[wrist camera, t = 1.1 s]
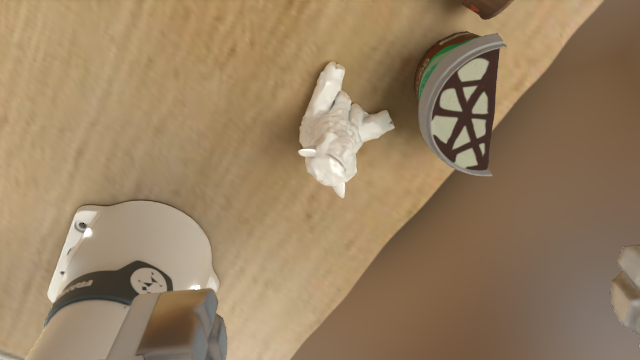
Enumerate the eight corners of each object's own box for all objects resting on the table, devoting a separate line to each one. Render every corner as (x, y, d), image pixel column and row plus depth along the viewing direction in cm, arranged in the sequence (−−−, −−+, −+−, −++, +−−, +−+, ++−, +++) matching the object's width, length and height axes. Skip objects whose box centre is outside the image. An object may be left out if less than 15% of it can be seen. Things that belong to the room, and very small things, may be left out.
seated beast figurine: (397, 118, 49) (421, 172, 39) (339, 171, 52) (346, 235, 42) (333, 55, 46) (340, 96, 35) (274, 115, 49) (265, 170, 38)
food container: (402, 21, 44) (425, 46, 36) (468, 15, 44) (507, 39, 36) (402, 140, 50) (421, 186, 42) (459, 135, 50) (491, 181, 42)
